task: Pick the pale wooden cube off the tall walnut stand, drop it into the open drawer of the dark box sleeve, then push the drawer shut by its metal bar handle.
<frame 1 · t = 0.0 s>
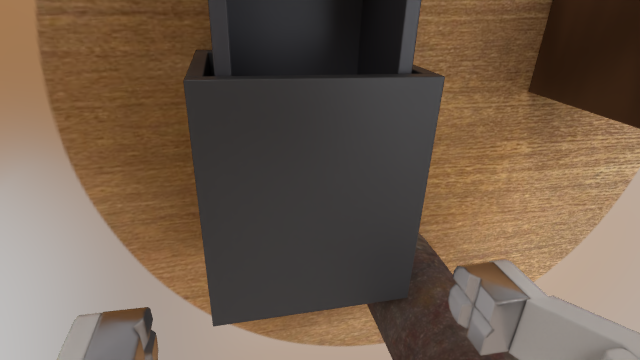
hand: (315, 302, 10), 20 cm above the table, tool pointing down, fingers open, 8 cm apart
brown cylinder: (385, 251, 37), on the table
dark box sleeve: (291, 149, 30), on the table
stand: (583, 41, 31), on the table
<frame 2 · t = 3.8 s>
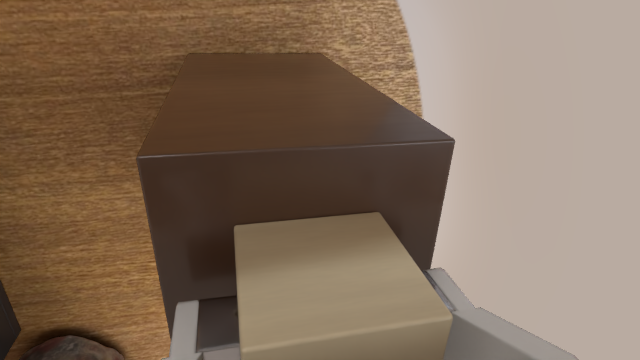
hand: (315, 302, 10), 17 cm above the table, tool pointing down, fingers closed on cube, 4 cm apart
brown cylinder: (76, 357, 30), on the table
cube: (308, 276, 11), point 16 cm above the table, touching gripper, stand
stand: (259, 117, 25), on the table
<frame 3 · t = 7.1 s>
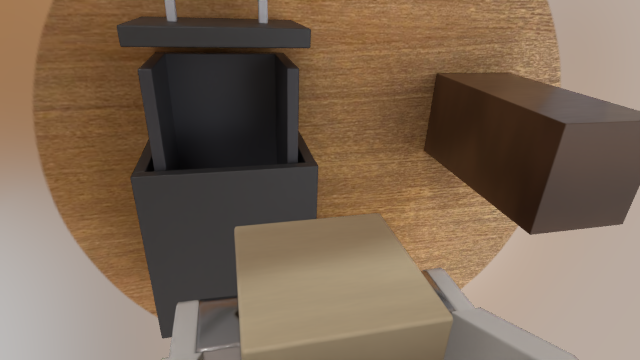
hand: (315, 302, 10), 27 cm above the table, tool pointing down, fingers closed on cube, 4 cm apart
drawer: (223, 89, 29), point 5 cm above the table, slide at 8.0 cm
cube: (308, 277, 11), point 26 cm above the table, touching gripper
dark box sleeve: (232, 198, 38), on the table
stand: (465, 112, 40), on the table
when the fingers open (13 cm above the table, at t = 10.5 s): cube drops 10 cm, resting on drawer.
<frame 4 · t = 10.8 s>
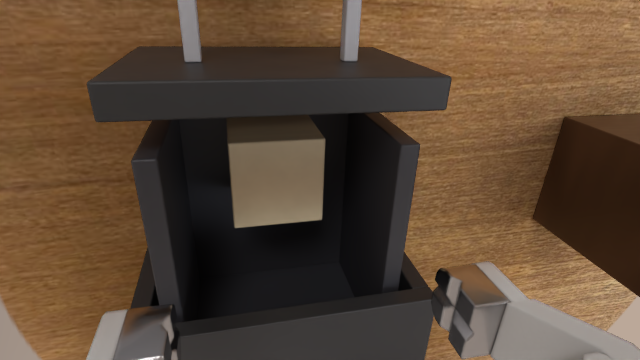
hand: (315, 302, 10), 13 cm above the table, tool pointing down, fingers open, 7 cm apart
drawer: (275, 166, 17), point 5 cm above the table, slide at 8.0 cm, touching cube
cube: (268, 151, 20), point 2 cm above the table, touching drawer
dark box sleeve: (269, 295, 27), on the table
stand: (593, 167, 28), on the table
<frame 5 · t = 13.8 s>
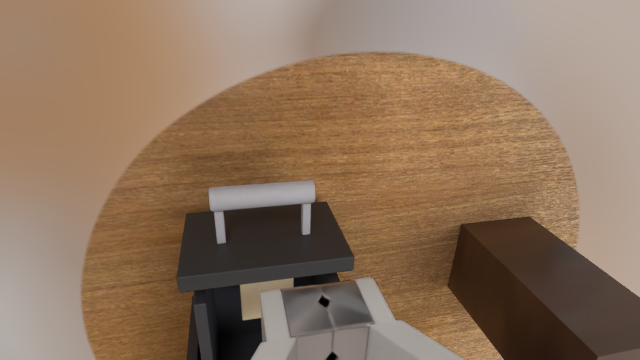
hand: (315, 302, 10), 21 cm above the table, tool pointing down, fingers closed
drawer: (265, 283, 30), point 5 cm above the table, slide at 8.0 cm, touching cube
cube: (262, 264, 33), point 2 cm above the table, touching drawer
dark box sleeve: (264, 342, 40), on the table
stand: (487, 252, 41), on the table
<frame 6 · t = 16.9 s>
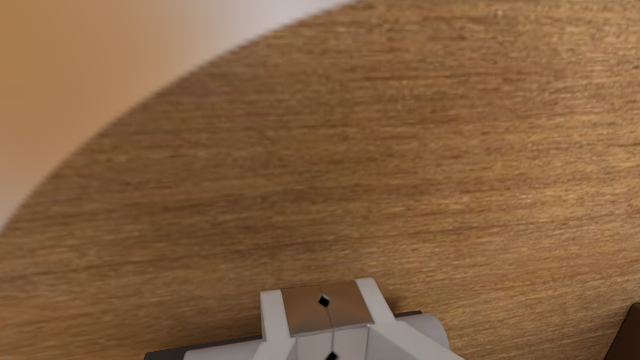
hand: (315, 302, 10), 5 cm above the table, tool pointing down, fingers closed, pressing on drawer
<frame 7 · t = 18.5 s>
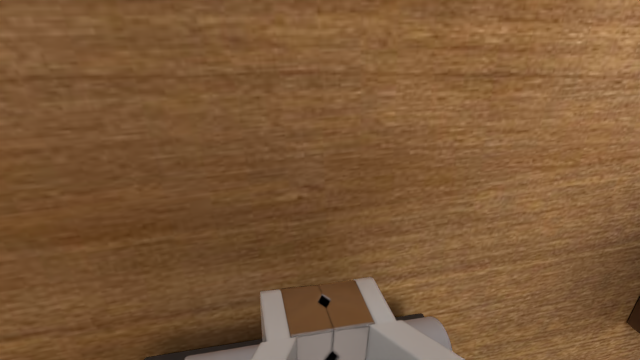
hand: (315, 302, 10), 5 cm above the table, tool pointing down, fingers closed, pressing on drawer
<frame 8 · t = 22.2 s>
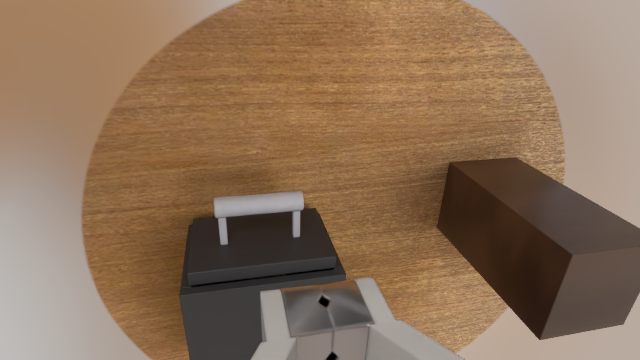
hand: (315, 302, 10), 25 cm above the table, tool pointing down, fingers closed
drawer: (262, 278, 35), point 5 cm above the table, slide at 0.0 cm, touching cube, dark box sleeve
dark box sleeve: (259, 277, 41), on the table
stand: (475, 193, 43), on the table
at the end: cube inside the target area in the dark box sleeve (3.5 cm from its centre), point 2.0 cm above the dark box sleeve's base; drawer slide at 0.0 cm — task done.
